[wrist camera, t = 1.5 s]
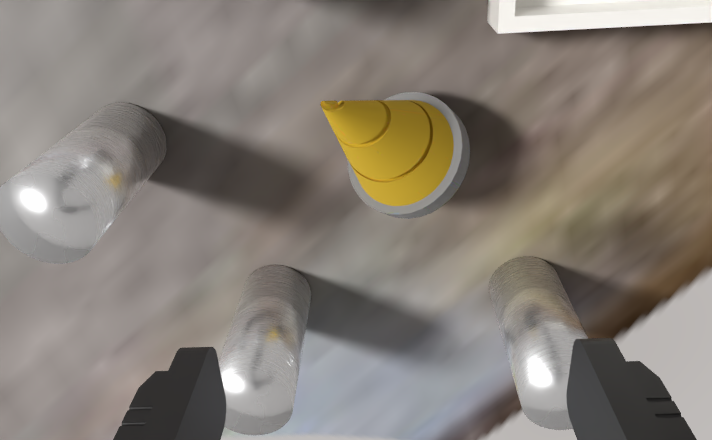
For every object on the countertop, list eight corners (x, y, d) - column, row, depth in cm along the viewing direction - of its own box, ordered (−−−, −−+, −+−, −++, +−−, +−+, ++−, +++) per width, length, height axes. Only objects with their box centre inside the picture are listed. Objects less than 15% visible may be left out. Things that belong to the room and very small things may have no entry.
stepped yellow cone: (370, 207, 30) (238, 155, 22) (410, 107, 30) (293, 15, 21) (463, 245, 27) (354, 202, 19) (508, 136, 27) (419, 43, 19)
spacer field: (16, -122, 23) (-140, -130, 16) (613, -163, 22) (724, -191, 15) (142, 324, 33) (80, 438, 26) (555, 312, 32) (605, 429, 25)
